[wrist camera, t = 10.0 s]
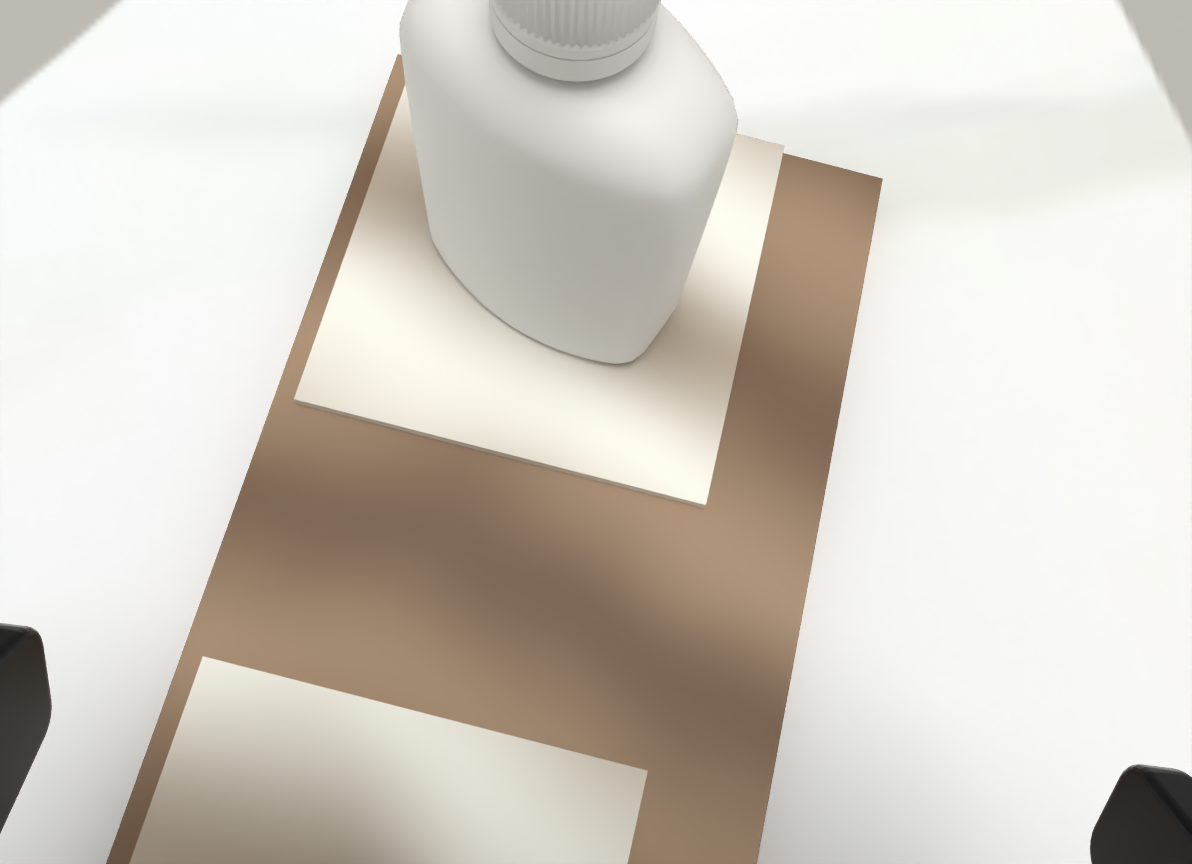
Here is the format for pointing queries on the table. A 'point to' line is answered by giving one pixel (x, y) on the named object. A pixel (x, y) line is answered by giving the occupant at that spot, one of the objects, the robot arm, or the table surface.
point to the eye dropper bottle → (567, 160)
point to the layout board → (516, 554)
